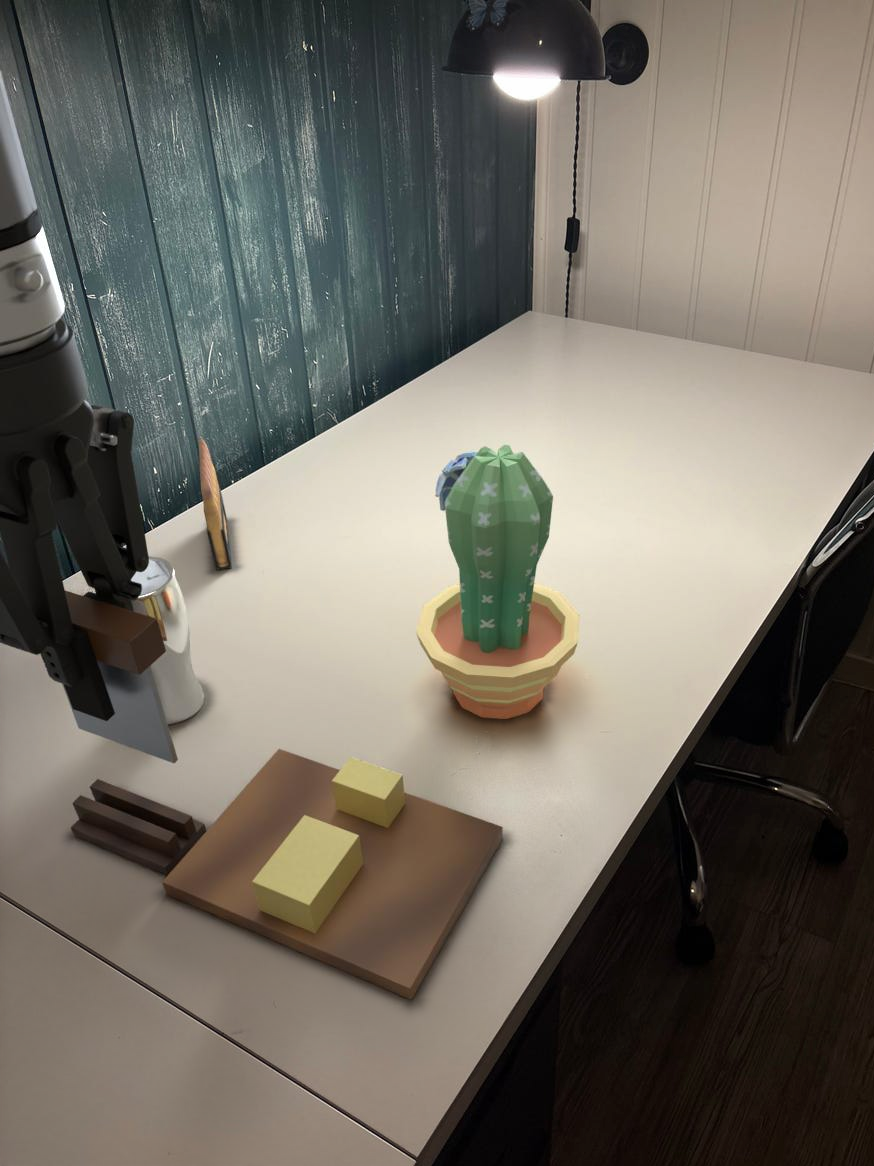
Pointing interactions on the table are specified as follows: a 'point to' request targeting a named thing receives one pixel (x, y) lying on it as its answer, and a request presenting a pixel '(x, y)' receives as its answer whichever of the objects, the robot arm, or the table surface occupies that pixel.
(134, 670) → the cleaver
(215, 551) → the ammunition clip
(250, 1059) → the table surface
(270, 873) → the butter
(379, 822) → the butter pat
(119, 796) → the knife holder
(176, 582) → the beer glass
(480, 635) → the potted cactus
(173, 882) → the board
